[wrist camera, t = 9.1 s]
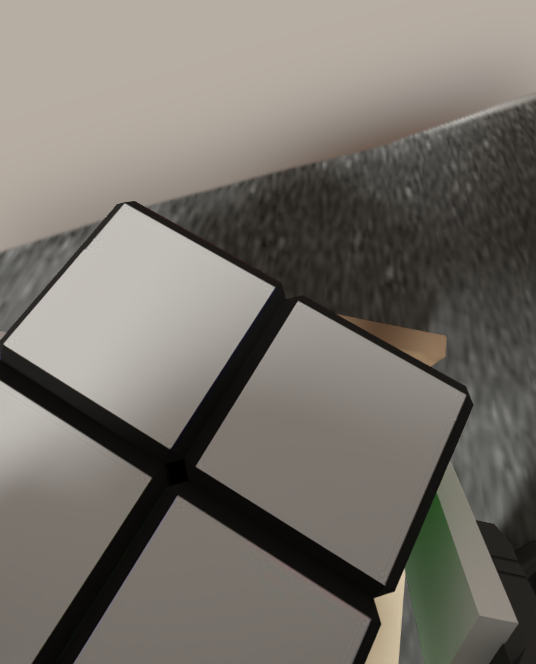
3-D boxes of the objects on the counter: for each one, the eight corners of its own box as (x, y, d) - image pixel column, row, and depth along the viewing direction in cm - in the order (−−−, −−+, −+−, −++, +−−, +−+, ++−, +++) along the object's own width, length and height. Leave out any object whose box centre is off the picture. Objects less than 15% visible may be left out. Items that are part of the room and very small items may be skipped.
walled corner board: (416, 358, 29) (446, 335, 25) (386, 745, 22) (419, 804, 18) (110, 297, 29) (88, 264, 25) (-15, 662, 22) (-73, 700, 18)
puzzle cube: (173, 325, 21) (121, 187, 11) (366, 439, 20) (486, 388, 10) (26, 531, 18) (-217, 575, 8) (247, 682, 16) (261, 936, 7)
